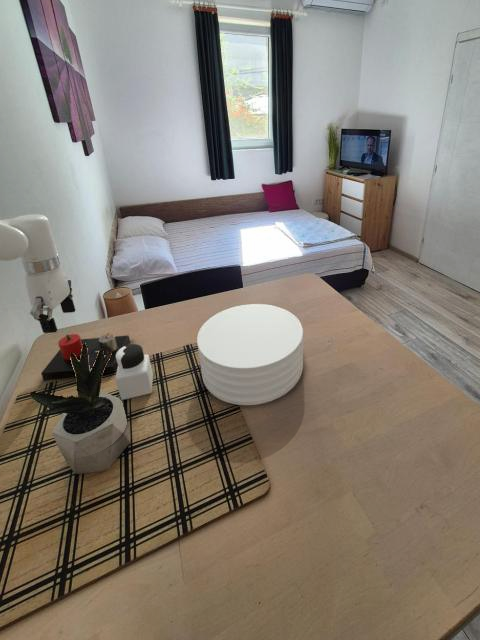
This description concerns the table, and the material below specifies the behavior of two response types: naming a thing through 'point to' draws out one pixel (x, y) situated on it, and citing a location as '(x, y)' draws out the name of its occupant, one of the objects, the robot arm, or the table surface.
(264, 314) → the plate stack
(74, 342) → the pepper
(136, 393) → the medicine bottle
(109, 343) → the hob knob
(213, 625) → the table surface
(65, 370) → the hob
